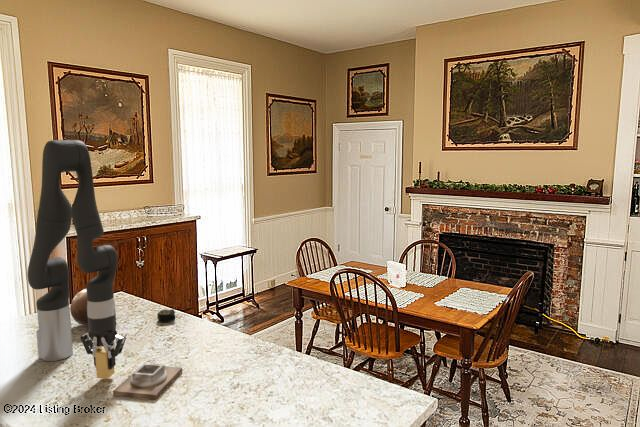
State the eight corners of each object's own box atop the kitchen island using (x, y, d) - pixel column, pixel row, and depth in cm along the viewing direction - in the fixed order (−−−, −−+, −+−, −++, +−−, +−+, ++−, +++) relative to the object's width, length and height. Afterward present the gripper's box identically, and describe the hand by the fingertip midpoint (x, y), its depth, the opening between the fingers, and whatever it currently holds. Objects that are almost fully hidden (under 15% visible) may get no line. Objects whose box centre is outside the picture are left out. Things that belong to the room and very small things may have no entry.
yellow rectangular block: (96, 377, 136) (94, 352, 135) (103, 372, 140) (102, 347, 139) (107, 378, 136) (105, 353, 135) (114, 373, 139) (112, 348, 138)
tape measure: (175, 322, 183) (175, 313, 182) (157, 324, 181) (156, 315, 180) (175, 316, 189) (174, 308, 189) (157, 318, 187) (157, 309, 187)
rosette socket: (113, 395, 129) (112, 380, 128) (143, 368, 145) (142, 355, 144) (156, 399, 127) (155, 384, 126) (182, 372, 143) (181, 358, 142)
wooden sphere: (64, 326, 178) (61, 289, 176) (101, 315, 190) (98, 280, 188) (84, 336, 169) (81, 297, 167) (122, 323, 182) (119, 286, 179)
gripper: (71, 316, 132) (75, 371, 135) (116, 319, 130) (119, 375, 133) (88, 306, 140) (91, 359, 142) (130, 310, 137) (133, 363, 140)
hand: (105, 367), depth 137 cm, fingers closed on yellow rectangular block, 3 cm apart
